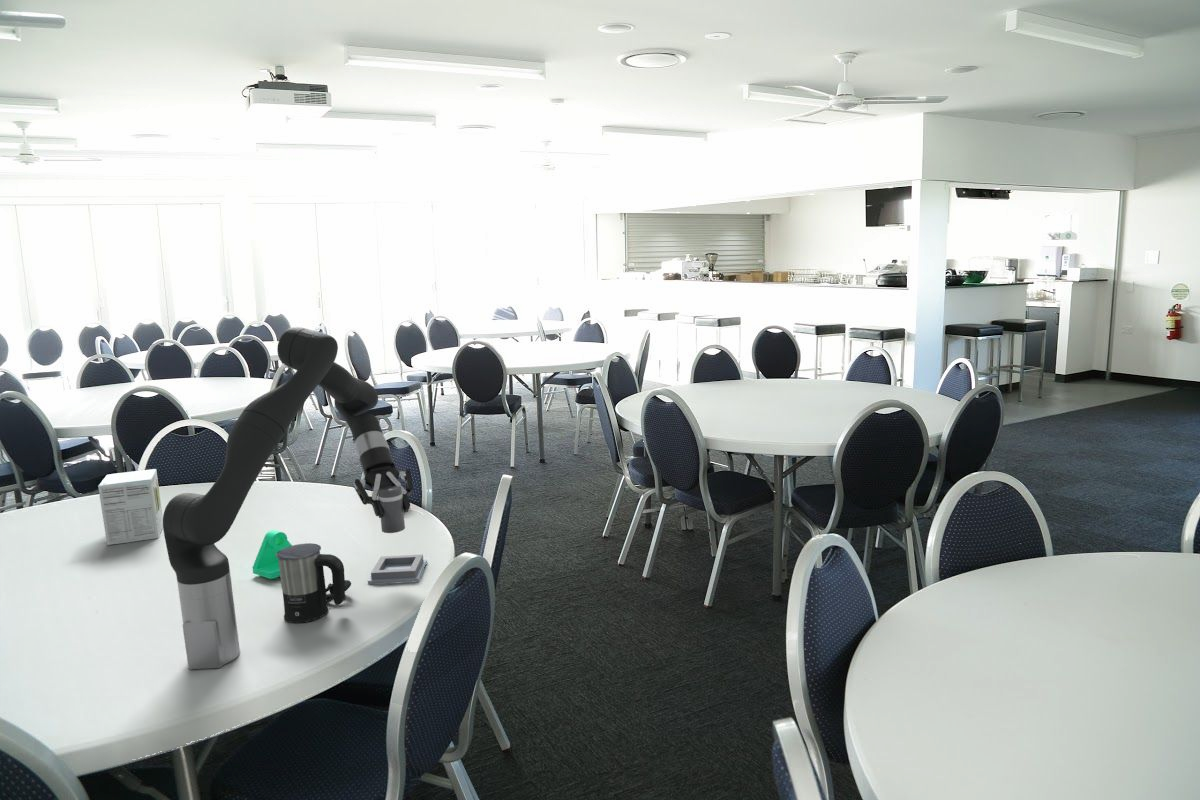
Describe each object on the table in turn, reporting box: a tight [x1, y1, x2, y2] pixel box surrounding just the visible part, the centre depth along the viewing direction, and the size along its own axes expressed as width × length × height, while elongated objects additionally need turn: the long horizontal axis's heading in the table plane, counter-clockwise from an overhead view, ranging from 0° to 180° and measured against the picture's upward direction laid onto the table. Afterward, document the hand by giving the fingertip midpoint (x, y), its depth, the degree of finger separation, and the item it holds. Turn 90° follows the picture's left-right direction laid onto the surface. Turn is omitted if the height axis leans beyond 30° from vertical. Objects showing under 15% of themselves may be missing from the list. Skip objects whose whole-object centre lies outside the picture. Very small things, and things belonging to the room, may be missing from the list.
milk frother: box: [276, 542, 352, 624], centre depth 181 cm, size 14×16×15 cm
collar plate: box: [367, 554, 428, 585], centre depth 199 cm, size 12×12×2 cm
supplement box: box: [97, 468, 164, 546], centre depth 233 cm, size 13×13×18 cm
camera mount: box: [251, 529, 293, 580], centre depth 202 cm, size 12×8×10 cm, turn 146°
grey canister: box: [377, 485, 406, 534], centre depth 193 cm, size 6×6×10 cm
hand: (394, 513), depth 191 cm, fingers closed on grey canister, 5 cm apart
